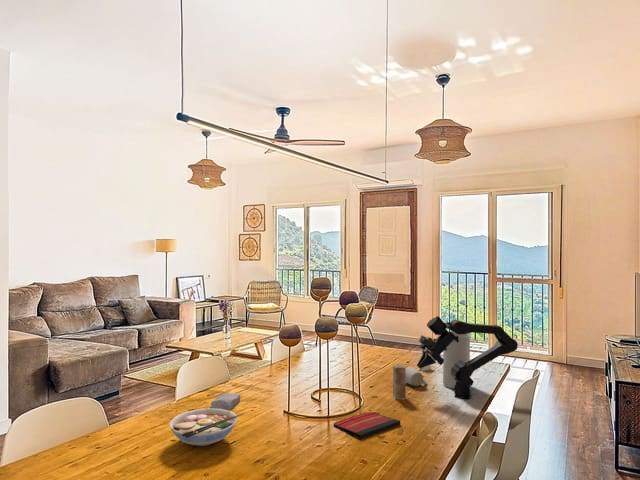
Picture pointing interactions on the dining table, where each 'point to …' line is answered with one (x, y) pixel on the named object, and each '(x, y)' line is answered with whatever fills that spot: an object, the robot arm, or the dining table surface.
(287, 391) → the dining table surface
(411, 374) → the ceramic mug
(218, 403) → the stone block
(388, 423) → the binder
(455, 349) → the cylinder vase
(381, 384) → the dining table surface
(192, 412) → the ramen bowl
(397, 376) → the walnut block
